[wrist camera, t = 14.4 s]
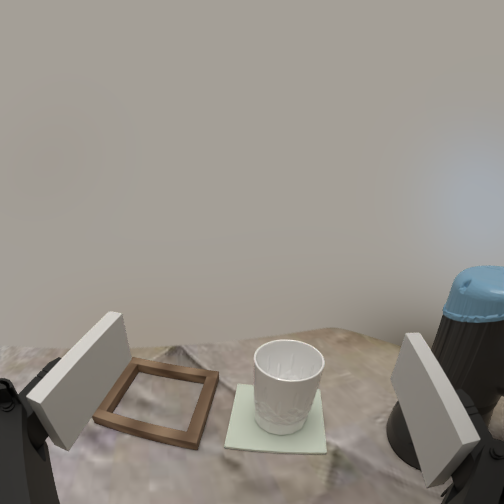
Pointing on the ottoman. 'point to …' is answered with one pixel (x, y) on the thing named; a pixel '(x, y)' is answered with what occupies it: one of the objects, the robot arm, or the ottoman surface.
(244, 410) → the sage tile
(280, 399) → the white cup
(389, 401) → the ottoman surface
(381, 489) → the ottoman surface
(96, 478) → the ottoman surface
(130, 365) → the walnut collar
